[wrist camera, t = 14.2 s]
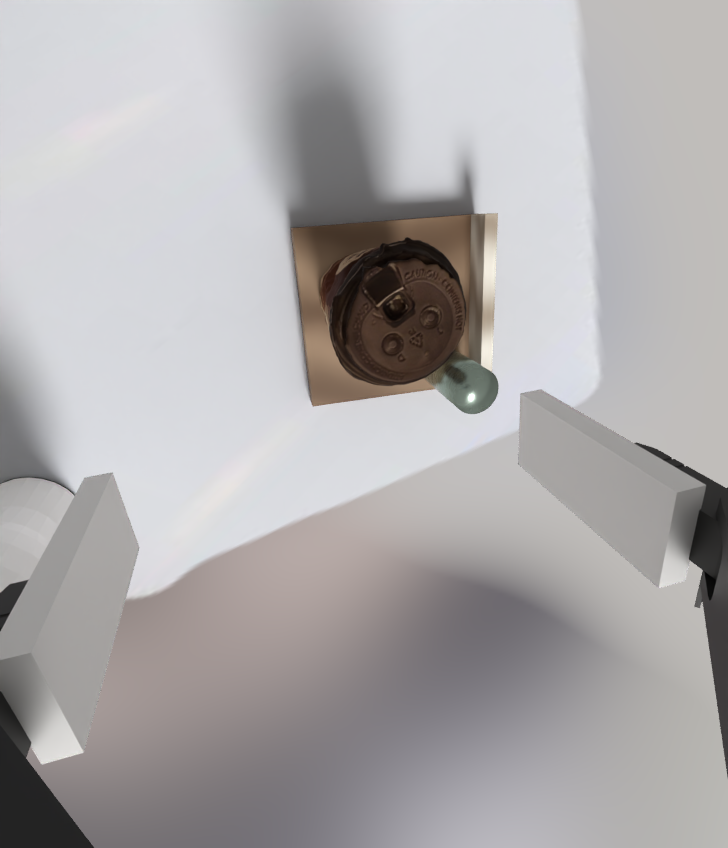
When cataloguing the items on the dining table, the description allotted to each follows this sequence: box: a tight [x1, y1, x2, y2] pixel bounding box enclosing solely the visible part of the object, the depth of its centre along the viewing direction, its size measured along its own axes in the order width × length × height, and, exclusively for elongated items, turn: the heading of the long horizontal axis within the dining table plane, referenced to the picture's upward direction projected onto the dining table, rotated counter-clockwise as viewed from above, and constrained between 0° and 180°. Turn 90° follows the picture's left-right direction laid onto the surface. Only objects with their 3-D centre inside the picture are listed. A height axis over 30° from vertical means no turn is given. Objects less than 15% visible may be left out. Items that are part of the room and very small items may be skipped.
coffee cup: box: [319, 237, 467, 386], centre depth 33 cm, size 9×8×13 cm
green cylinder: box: [425, 350, 498, 414], centre depth 40 cm, size 4×4×7 cm
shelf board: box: [291, 213, 498, 406], centre depth 40 cm, size 14×15×4 cm
